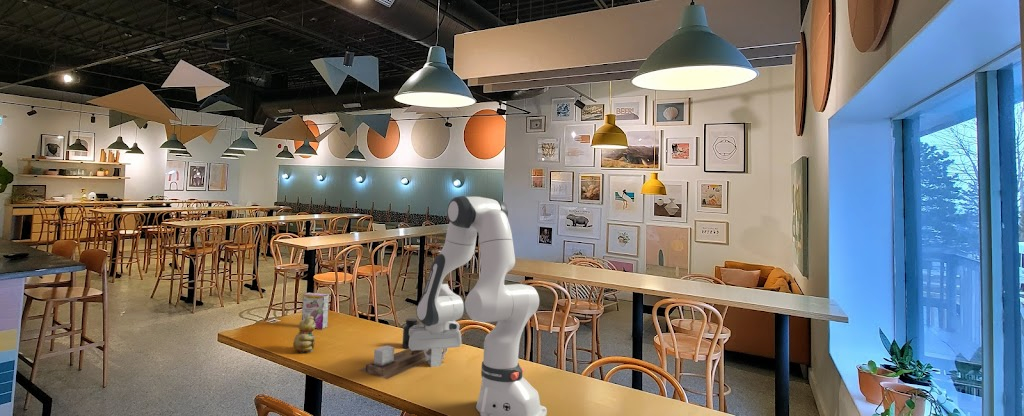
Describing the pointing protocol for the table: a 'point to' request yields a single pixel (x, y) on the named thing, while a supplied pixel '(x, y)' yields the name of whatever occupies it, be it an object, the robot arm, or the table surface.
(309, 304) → the candy bar box
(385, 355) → the block
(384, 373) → the brown wooden tray
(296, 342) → the decorative figurine
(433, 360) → the block
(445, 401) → the table surface
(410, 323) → the supplement bottle
